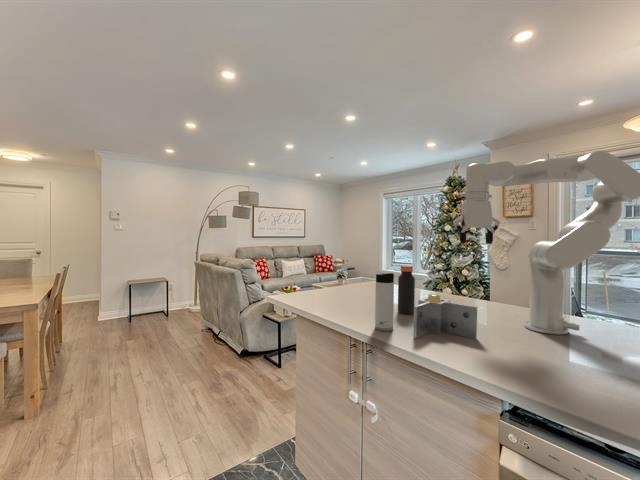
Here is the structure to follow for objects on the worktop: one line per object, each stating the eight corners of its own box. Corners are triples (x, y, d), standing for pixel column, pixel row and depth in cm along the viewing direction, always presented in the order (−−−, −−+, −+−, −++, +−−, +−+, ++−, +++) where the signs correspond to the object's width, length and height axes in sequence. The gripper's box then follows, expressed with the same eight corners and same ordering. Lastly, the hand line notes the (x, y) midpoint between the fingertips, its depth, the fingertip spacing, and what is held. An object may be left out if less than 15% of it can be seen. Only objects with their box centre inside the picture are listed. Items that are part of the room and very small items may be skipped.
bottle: (416, 315, 126) (417, 266, 126) (399, 314, 126) (400, 266, 126) (411, 310, 133) (412, 265, 132) (396, 310, 133) (396, 265, 132)
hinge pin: (441, 328, 108) (442, 295, 107) (436, 331, 105) (437, 296, 104) (430, 326, 110) (431, 293, 110) (425, 328, 107) (426, 295, 107)
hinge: (480, 335, 101) (480, 305, 100) (459, 350, 88) (460, 315, 88) (428, 324, 113) (428, 296, 113) (403, 335, 100) (404, 304, 100)
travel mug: (383, 333, 102) (384, 274, 102) (371, 327, 108) (372, 271, 108) (397, 330, 105) (398, 273, 105) (385, 325, 111) (386, 270, 111)
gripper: (494, 198, 117) (493, 243, 117) (449, 198, 117) (448, 243, 117) (506, 196, 109) (505, 244, 110) (458, 196, 109) (457, 243, 110)
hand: (476, 243), depth 113 cm, fingers open, 9 cm apart
